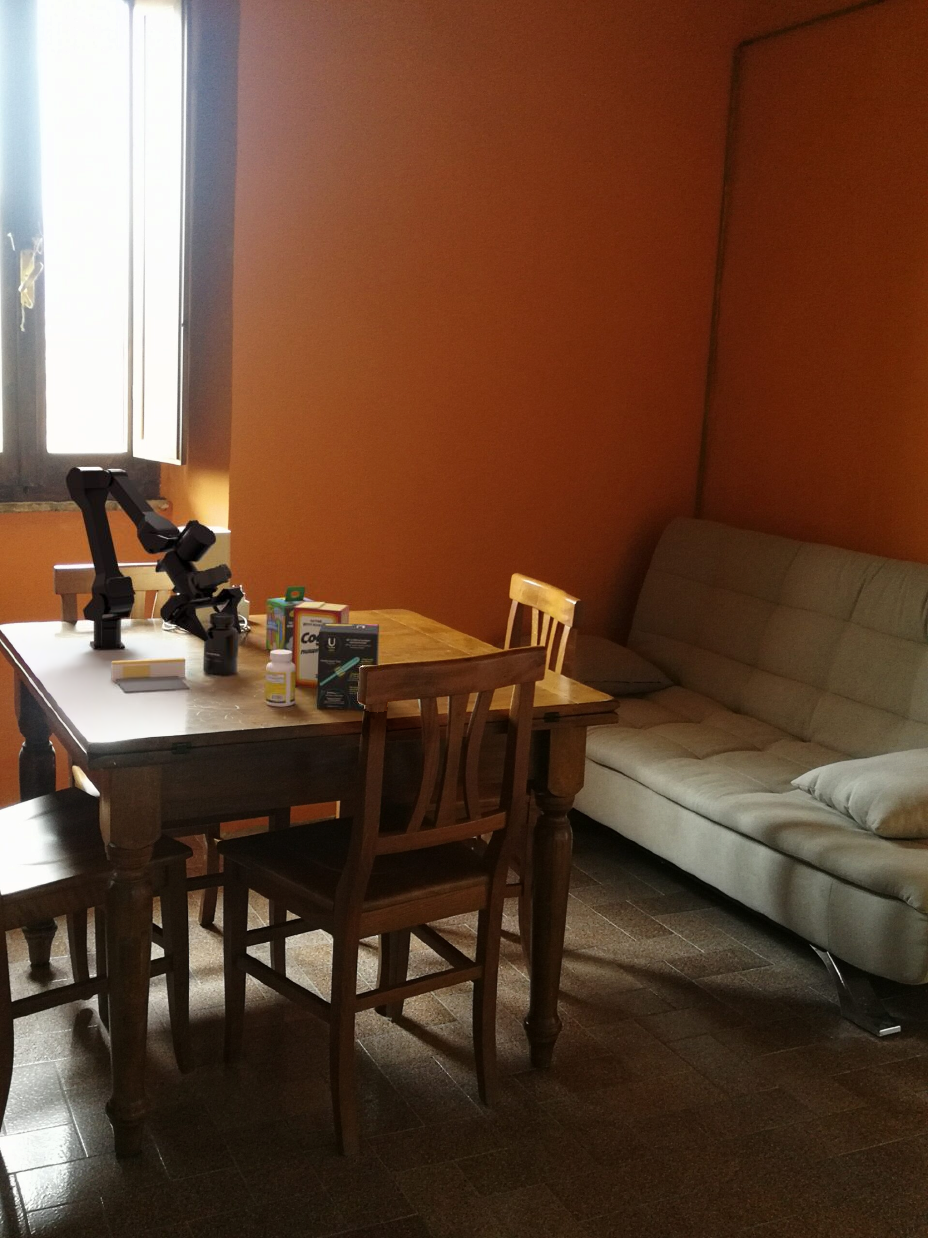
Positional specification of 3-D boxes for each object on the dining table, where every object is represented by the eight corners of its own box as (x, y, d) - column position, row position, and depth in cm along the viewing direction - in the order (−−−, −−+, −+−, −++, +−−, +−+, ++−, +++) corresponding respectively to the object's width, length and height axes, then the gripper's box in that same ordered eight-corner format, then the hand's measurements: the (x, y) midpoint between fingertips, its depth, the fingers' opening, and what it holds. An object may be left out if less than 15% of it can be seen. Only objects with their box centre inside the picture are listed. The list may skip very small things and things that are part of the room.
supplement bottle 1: (204, 677, 235) (205, 617, 233) (202, 669, 241) (203, 611, 239) (239, 676, 237) (240, 617, 235) (236, 668, 243) (237, 611, 241)
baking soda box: (346, 682, 237) (349, 603, 235) (338, 689, 231) (341, 609, 228) (300, 678, 239) (302, 600, 236) (291, 685, 232) (293, 605, 229)
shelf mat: (115, 680, 228) (115, 678, 228) (178, 677, 233) (178, 675, 233) (125, 693, 219) (125, 691, 219) (189, 689, 225) (189, 687, 225)
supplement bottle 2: (286, 698, 222) (287, 647, 220) (300, 705, 218) (301, 653, 216) (260, 701, 219) (261, 649, 217) (273, 708, 214) (275, 655, 213)
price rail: (111, 678, 230) (111, 660, 229) (183, 674, 236) (183, 657, 235) (112, 680, 228) (112, 662, 227) (185, 676, 234) (185, 659, 234)
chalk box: (300, 645, 269) (302, 581, 267) (320, 653, 262) (322, 587, 260) (264, 648, 264) (265, 583, 261) (283, 657, 257) (285, 589, 254)
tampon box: (377, 698, 226) (380, 623, 223) (375, 711, 217) (379, 633, 214) (319, 696, 225) (321, 620, 222) (315, 709, 216) (318, 630, 213)
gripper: (170, 555, 230) (210, 618, 226) (238, 548, 245) (276, 607, 241) (142, 590, 235) (181, 652, 231) (210, 581, 251) (247, 639, 247)
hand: (223, 637), depth 237 cm, fingers open, 9 cm apart
